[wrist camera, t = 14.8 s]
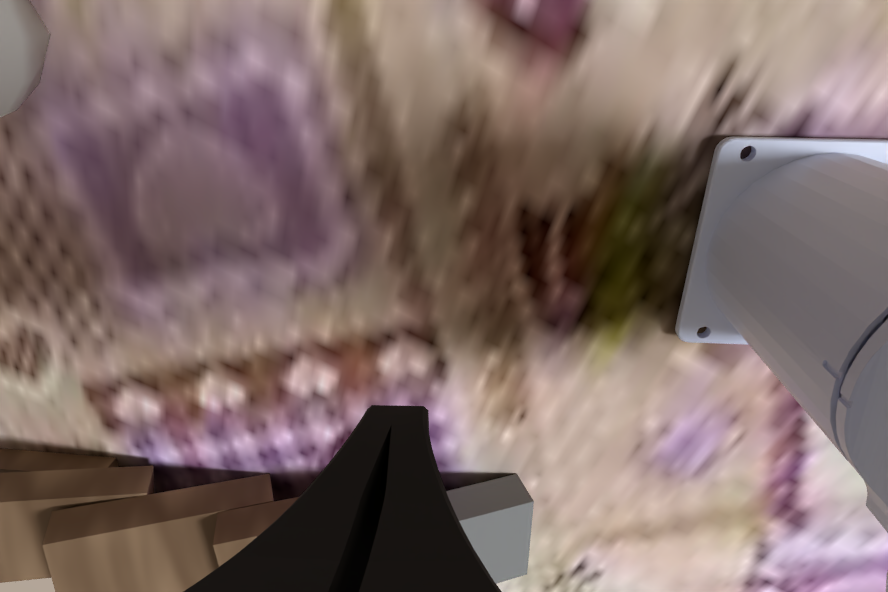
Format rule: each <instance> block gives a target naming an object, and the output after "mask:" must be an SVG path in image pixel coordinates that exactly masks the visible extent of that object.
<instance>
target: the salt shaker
mask: <svg viewBox="0 0 888 592" xmlns="http://www.w3.org/2000/svg"><path fill="white" fill-rule="evenodd" d="M49 38H50V33H49V31H48V29H47V28H46V26H45V25H44V23H43V21H42V20H41V18H40V17H39V15H38V13H37V12H36V10H35V9H34V7H33V5H32V4H31V2H30V1H29V0H0V117H3V116H5V115H7V114H9V113H11V112H14V111H16V110H17V109H18V108H19V107H20V106H21V104H22V103H23V102H24V101H25V100H26V98H27V97H28V96H29V95H30V94H31V92H32V91H33V90H34V89H35V88H36V87H37V85H38V84H39V83H40V78H41V74H42V69H43V65H44V60H45V56H46V51H47V47H48V42H49Z"/></svg>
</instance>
